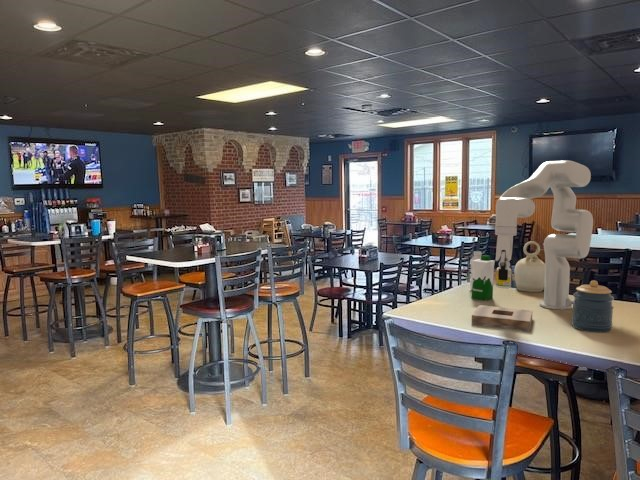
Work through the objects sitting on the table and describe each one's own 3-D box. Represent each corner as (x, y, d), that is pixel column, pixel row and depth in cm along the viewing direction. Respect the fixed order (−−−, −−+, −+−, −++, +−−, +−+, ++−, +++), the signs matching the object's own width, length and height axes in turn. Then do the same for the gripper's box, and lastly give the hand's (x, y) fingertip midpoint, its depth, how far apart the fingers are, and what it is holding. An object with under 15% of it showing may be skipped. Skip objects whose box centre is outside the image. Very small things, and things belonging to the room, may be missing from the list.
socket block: (532, 319, 185) (532, 310, 185) (529, 331, 169) (529, 321, 169) (478, 313, 194) (479, 305, 194) (471, 324, 178) (471, 315, 178)
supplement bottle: (507, 289, 176) (509, 263, 175) (493, 287, 180) (494, 262, 179) (512, 287, 180) (513, 262, 180) (498, 285, 184) (499, 260, 183)
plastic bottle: (484, 292, 236) (485, 252, 234) (470, 291, 237) (471, 252, 235) (482, 289, 242) (483, 250, 240) (468, 289, 243) (469, 250, 241)
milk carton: (495, 298, 222) (496, 256, 220) (485, 301, 216) (487, 257, 214) (478, 295, 228) (479, 254, 226) (468, 298, 222) (469, 256, 220)
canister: (573, 330, 170) (576, 282, 168) (569, 321, 182) (571, 276, 180) (615, 334, 165) (618, 284, 163) (608, 325, 177) (611, 278, 175)
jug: (544, 294, 231) (546, 243, 229) (510, 290, 240) (512, 241, 237) (548, 288, 244) (550, 240, 242) (516, 285, 252) (518, 239, 250)
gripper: (497, 229, 187) (495, 274, 189) (492, 232, 172) (490, 281, 174) (518, 230, 184) (516, 276, 186) (514, 233, 169) (512, 283, 170)
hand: (503, 278), depth 180 cm, fingers closed on supplement bottle, 5 cm apart
